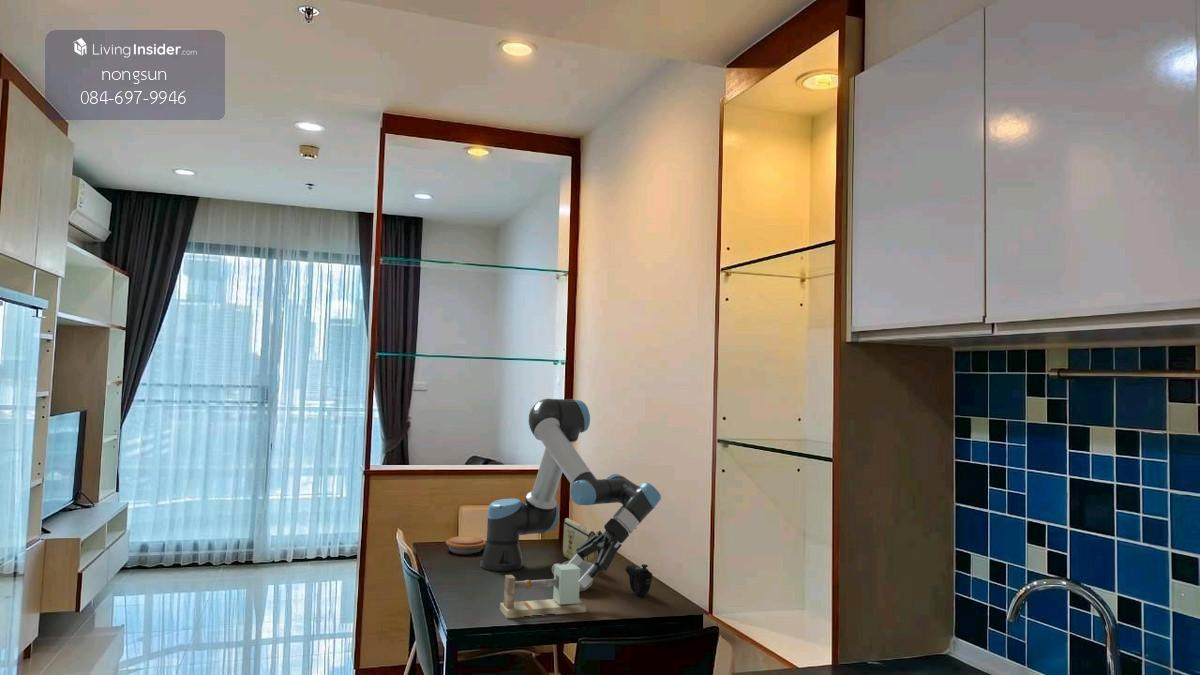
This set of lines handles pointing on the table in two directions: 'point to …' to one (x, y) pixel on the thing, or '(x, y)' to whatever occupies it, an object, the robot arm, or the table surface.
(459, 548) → the pie
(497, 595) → the table surface
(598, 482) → the robot arm
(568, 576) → the sleeve
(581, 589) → the teacup
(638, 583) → the controller
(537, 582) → the lead screw slider
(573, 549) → the clutch purse
